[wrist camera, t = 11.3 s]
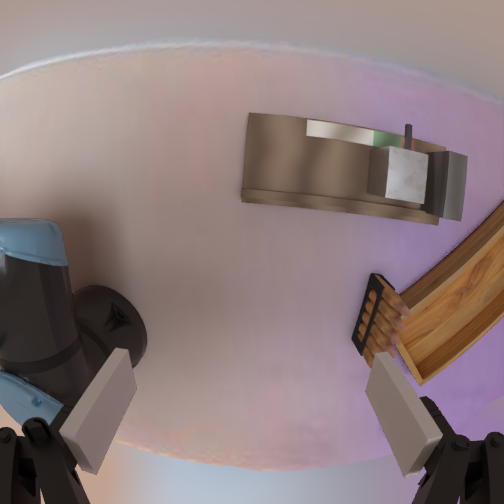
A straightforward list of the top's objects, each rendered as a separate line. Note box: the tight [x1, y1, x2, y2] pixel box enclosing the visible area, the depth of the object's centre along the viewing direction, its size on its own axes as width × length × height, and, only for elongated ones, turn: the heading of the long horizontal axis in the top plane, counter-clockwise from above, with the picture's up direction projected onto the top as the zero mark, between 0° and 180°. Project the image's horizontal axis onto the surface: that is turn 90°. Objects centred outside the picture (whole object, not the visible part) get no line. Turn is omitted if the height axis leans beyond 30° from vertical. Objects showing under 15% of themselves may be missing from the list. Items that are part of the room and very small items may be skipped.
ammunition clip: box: [351, 273, 411, 368], centre depth 36 cm, size 11×2×12 cm, turn 171°
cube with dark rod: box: [367, 124, 428, 204], centre depth 31 cm, size 5×9×6 cm, turn 175°
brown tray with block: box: [241, 113, 468, 225], centre depth 33 cm, size 27×11×8 cm, turn 85°
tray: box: [392, 202, 504, 386], centre depth 38 cm, size 31×15×6 cm, turn 128°
